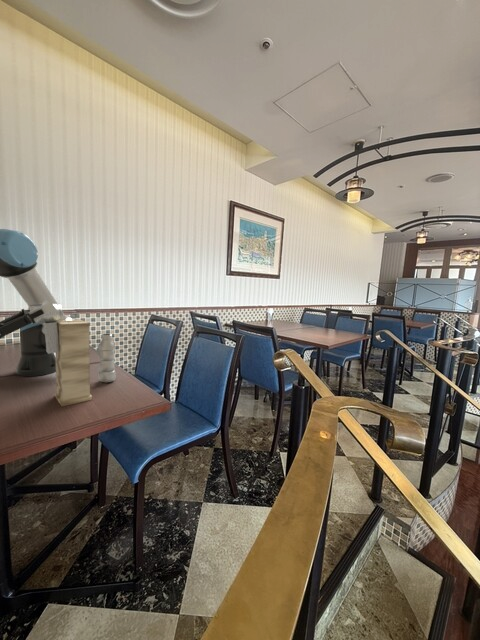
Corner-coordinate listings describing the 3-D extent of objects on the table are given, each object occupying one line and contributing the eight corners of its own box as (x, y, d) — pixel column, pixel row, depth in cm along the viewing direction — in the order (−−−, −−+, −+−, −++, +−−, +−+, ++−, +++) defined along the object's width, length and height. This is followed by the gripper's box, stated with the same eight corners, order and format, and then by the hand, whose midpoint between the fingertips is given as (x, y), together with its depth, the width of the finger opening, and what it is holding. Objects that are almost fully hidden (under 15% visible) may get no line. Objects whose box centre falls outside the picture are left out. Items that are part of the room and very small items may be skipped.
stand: (54, 395, 93) (52, 320, 91) (83, 390, 100) (82, 319, 97) (61, 406, 86) (59, 324, 83) (92, 399, 92) (91, 323, 89)
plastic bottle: (109, 385, 106) (108, 336, 104) (94, 383, 107) (93, 334, 105) (119, 380, 112) (119, 333, 110) (105, 378, 114) (105, 332, 112)
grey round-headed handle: (61, 348, 91) (28, 353, 85) (57, 302, 89) (22, 304, 82) (65, 352, 87) (30, 357, 81) (61, 303, 85) (25, 305, 78)
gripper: (-25, 350, 81) (52, 311, 94) (-26, 365, 67) (65, 317, 80) (-45, 330, 77) (39, 293, 90) (-49, 341, 64) (49, 295, 77)
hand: (51, 304), depth 85 cm, fingers closed on grey round-headed handle, 6 cm apart
